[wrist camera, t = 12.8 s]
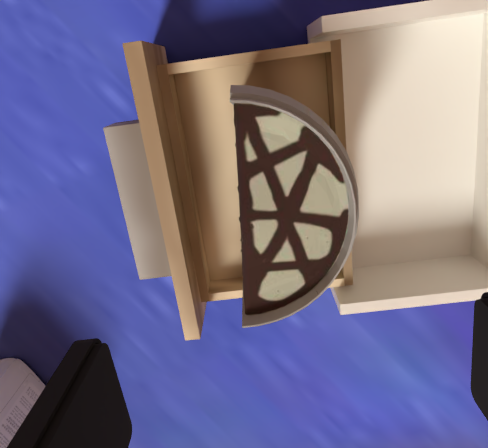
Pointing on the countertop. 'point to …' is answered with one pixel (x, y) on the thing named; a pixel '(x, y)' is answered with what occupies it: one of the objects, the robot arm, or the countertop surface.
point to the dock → (415, 151)
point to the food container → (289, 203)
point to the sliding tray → (204, 161)
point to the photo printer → (16, 396)
